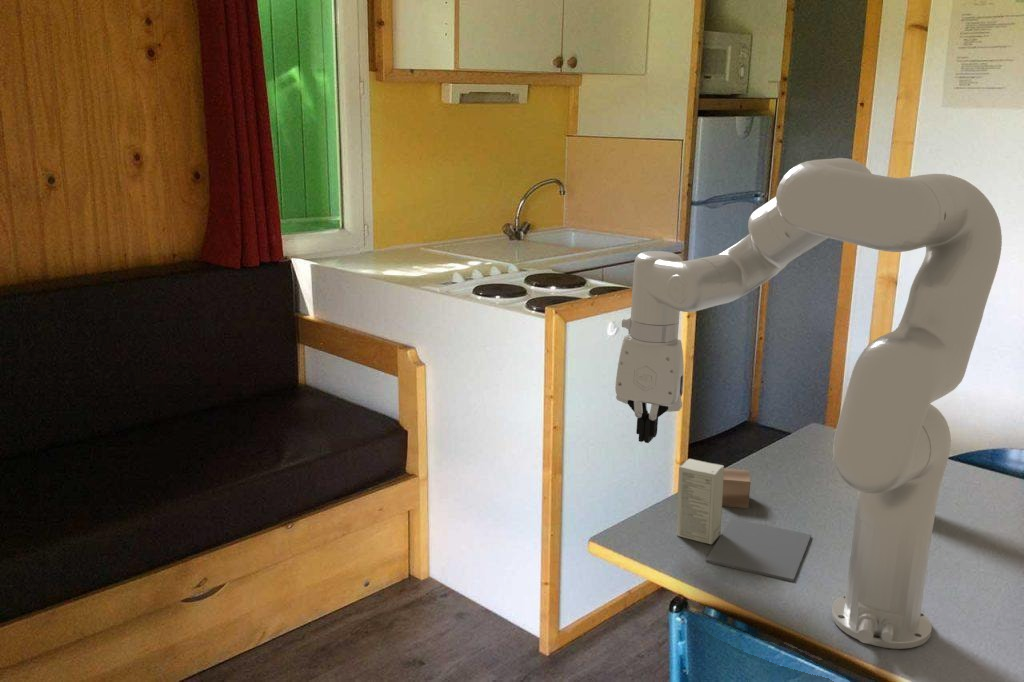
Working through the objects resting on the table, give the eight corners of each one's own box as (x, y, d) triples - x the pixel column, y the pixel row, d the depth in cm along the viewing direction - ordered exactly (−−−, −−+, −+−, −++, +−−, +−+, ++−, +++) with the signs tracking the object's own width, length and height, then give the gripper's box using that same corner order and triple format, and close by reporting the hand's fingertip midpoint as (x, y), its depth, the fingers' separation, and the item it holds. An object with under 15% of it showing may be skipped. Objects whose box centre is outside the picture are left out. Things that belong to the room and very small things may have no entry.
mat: (793, 581, 136) (793, 579, 136) (706, 561, 141) (706, 559, 141) (810, 536, 150) (811, 534, 150) (730, 520, 155) (731, 518, 155)
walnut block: (748, 508, 160) (750, 481, 159) (718, 505, 161) (720, 479, 160) (747, 496, 165) (749, 470, 164) (718, 494, 166) (720, 468, 164)
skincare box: (721, 535, 150) (726, 465, 147) (711, 546, 146) (716, 474, 143) (684, 525, 153) (689, 457, 150) (674, 535, 150) (678, 465, 147)
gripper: (600, 329, 145) (594, 438, 150) (694, 343, 139) (684, 456, 144) (617, 319, 152) (610, 424, 157) (707, 332, 145) (697, 440, 150)
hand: (646, 439), depth 150 cm, fingers closed
